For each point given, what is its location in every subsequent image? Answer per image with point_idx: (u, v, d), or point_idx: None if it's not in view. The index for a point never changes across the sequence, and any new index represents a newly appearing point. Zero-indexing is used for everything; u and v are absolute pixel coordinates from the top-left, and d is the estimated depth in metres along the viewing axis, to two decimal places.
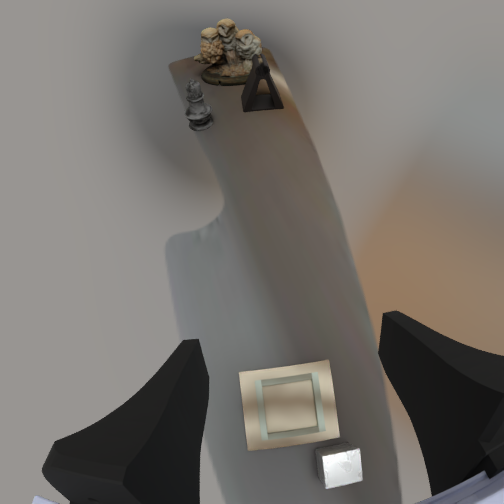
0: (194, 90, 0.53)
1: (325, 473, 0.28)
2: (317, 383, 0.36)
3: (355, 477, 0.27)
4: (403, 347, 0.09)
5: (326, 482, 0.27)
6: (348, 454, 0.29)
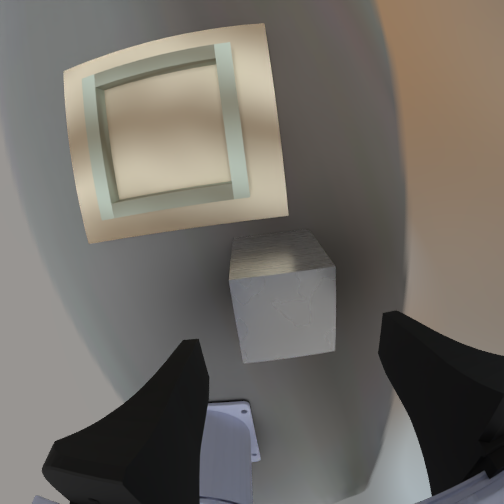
0: None
1: (239, 326, 0.13)
2: (228, 69, 0.13)
3: (318, 342, 0.14)
4: (403, 346, 0.09)
5: (243, 348, 0.14)
6: (302, 280, 0.13)
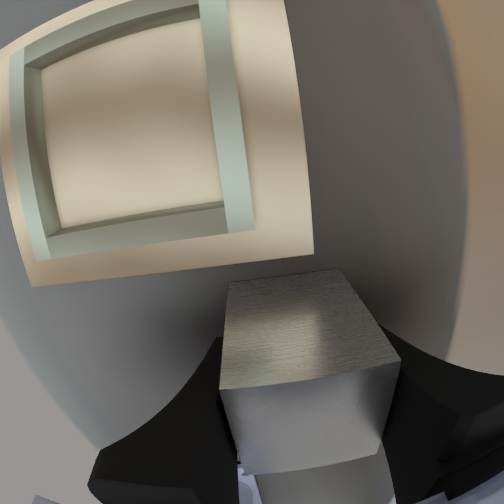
0: None
1: (239, 442, 0.07)
2: (219, 19, 0.07)
3: (355, 449, 0.08)
4: None
5: (245, 463, 0.08)
6: (345, 384, 0.07)
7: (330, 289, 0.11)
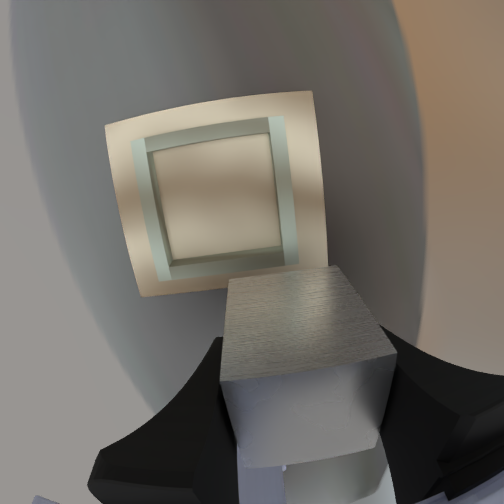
0: None
1: (239, 435, 0.08)
2: (282, 144, 0.15)
3: (353, 443, 0.08)
4: None
5: (245, 456, 0.08)
6: (343, 376, 0.07)
7: (328, 285, 0.11)
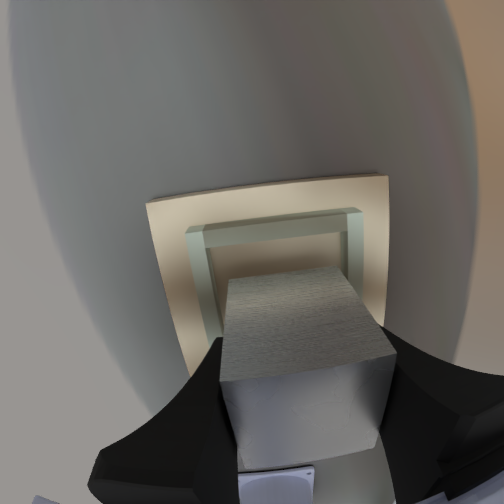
0: None
1: (238, 435, 0.08)
2: (359, 244, 0.14)
3: (353, 443, 0.08)
4: None
5: (245, 456, 0.08)
6: (343, 376, 0.07)
7: (328, 285, 0.11)
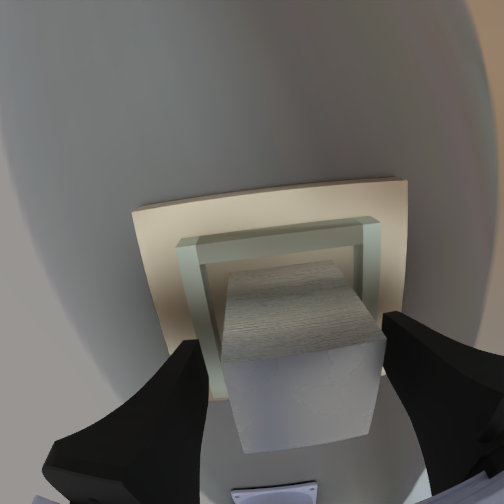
0: None
1: (238, 417, 0.08)
2: (375, 259, 0.12)
3: (347, 428, 0.09)
4: (403, 346, 0.09)
5: (244, 440, 0.09)
6: (335, 360, 0.08)
7: (323, 278, 0.12)
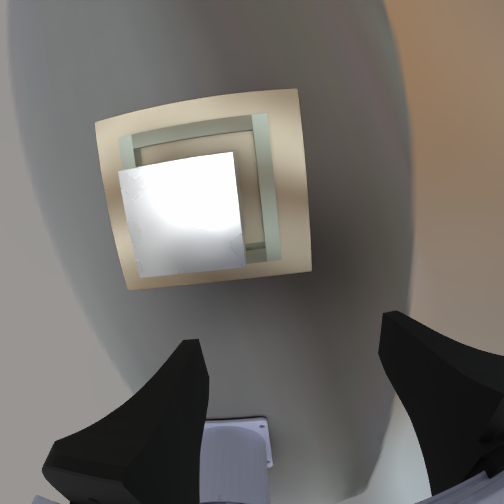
0: None
1: (131, 227, 0.12)
2: (265, 142, 0.15)
3: (222, 253, 0.12)
4: (403, 347, 0.09)
5: (137, 257, 0.12)
6: (194, 168, 0.11)
7: (219, 152, 0.15)
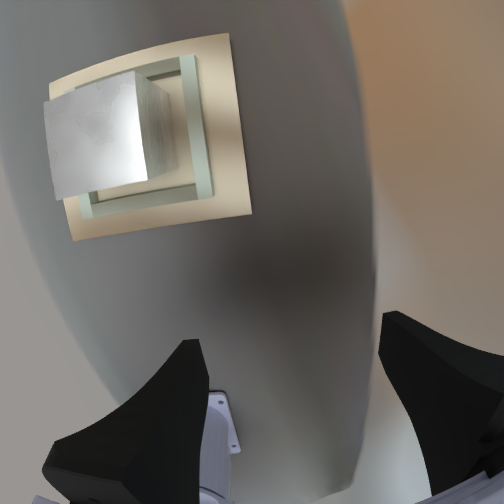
0: None
1: (50, 151, 0.10)
2: (192, 79, 0.14)
3: (125, 167, 0.11)
4: (403, 346, 0.09)
5: (54, 179, 0.11)
6: (101, 89, 0.10)
7: None
